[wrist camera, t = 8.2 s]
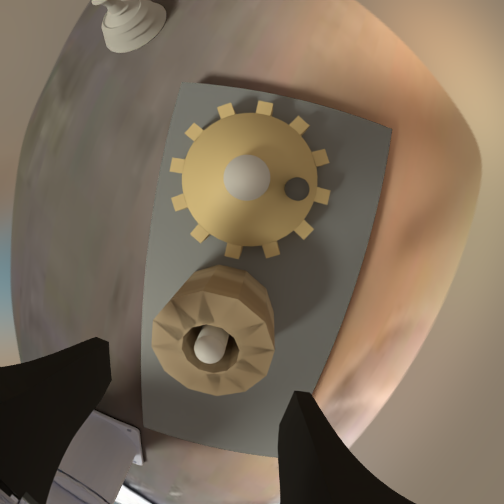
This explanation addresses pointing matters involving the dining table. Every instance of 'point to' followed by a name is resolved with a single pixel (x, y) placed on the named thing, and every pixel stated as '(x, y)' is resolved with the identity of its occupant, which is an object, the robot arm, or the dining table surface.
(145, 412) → the gear board
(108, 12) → the chalice
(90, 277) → the dining table surface
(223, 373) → the wooden ring spacer
